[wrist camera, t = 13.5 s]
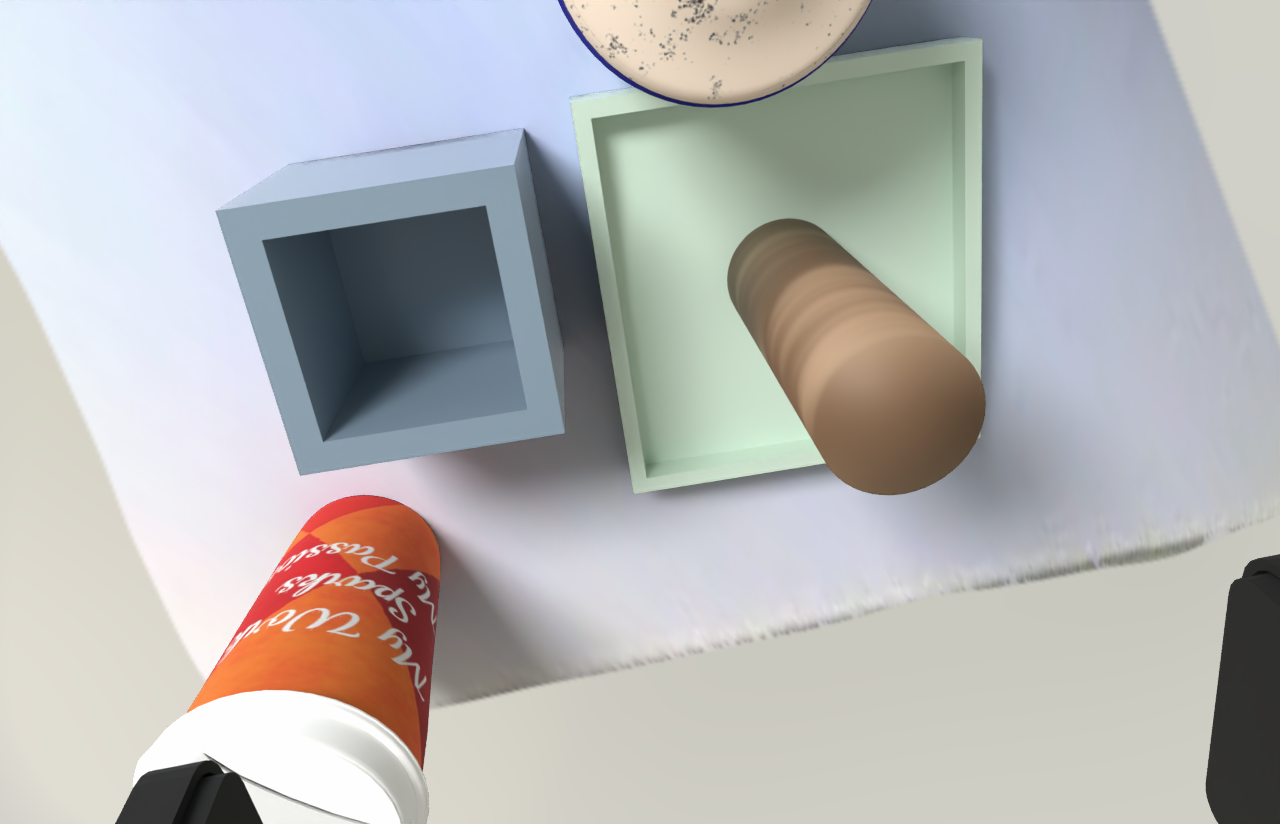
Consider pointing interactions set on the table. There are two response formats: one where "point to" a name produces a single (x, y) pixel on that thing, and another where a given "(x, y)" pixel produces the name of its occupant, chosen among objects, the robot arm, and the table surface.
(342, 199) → the deep square box
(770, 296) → the peg
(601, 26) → the teacup with lid
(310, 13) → the table surface
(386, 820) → the coffee cup
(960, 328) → the tray
